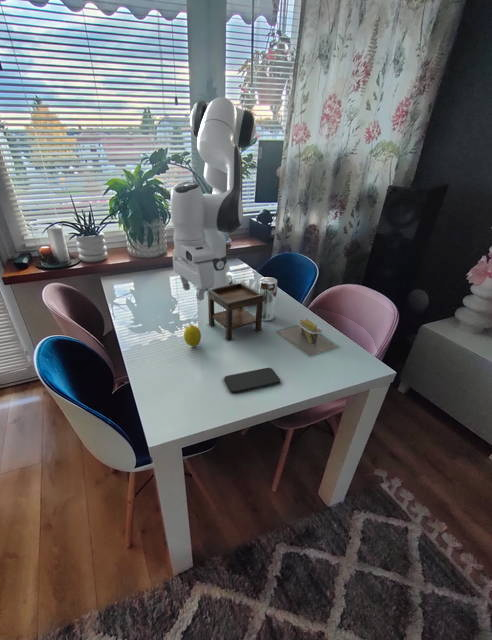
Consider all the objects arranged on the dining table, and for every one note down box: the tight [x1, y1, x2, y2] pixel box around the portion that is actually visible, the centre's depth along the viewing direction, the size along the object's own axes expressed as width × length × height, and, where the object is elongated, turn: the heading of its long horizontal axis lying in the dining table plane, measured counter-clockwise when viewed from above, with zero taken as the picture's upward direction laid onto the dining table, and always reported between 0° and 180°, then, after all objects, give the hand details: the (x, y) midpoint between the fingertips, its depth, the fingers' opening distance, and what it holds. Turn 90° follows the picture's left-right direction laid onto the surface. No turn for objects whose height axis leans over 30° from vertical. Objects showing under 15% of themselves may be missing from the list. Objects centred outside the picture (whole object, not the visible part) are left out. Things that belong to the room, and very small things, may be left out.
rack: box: [207, 282, 263, 342], centre depth 116 cm, size 14×14×14 cm
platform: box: [277, 318, 338, 357], centre depth 111 cm, size 12×18×7 cm, turn 27°
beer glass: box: [258, 276, 278, 322], centre depth 123 cm, size 7×7×15 cm
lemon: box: [183, 324, 202, 348], centre depth 107 cm, size 6×6×8 cm
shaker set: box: [238, 279, 259, 292], centre depth 134 cm, size 12×4×11 cm, turn 114°
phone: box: [223, 367, 281, 394], centre depth 93 cm, size 7×1×15 cm
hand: (193, 294), depth 99 cm, fingers open, 8 cm apart
